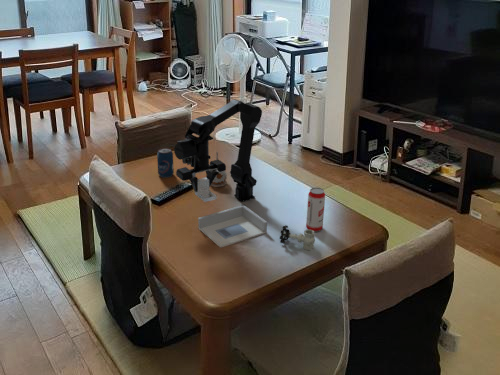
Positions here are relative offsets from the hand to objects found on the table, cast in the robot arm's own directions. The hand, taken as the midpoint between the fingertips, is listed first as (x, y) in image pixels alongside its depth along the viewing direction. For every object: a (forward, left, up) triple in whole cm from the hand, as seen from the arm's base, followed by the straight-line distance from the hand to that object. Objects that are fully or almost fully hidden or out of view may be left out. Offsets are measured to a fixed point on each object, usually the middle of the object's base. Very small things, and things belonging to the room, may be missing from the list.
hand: (201, 190), depth 222 cm
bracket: (0, +3, -2) cm, 3 cm away
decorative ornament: (-19, -20, -11) cm, 30 cm away
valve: (-18, +39, -11) cm, 44 cm away
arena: (-3, +18, -10) cm, 21 cm away
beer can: (-30, +33, -11) cm, 45 cm away
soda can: (-4, -40, -11) cm, 42 cm away
